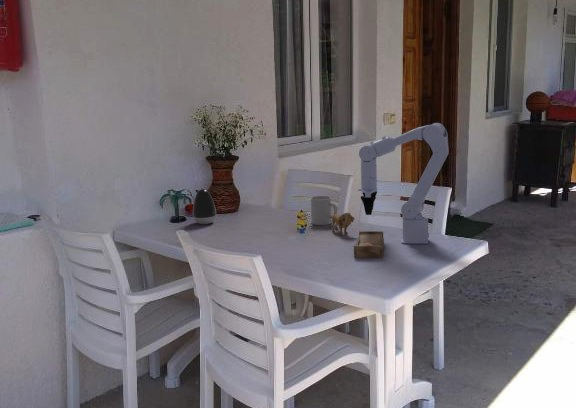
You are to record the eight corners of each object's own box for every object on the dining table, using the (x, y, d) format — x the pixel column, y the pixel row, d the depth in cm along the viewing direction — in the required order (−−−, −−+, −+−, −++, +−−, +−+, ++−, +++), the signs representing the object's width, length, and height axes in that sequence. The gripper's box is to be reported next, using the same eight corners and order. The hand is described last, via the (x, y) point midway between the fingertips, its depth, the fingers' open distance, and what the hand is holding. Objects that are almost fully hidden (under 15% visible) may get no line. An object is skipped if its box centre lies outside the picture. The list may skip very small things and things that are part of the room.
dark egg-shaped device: (207, 219, 268) (205, 186, 265) (221, 222, 260) (219, 188, 257) (188, 223, 261) (186, 189, 258) (202, 227, 254) (199, 192, 250)
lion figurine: (356, 234, 231) (356, 212, 229) (345, 237, 229) (345, 214, 227) (334, 227, 244) (333, 206, 242) (323, 230, 241) (323, 208, 239)
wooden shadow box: (384, 242, 219) (384, 231, 218) (382, 257, 201) (382, 245, 200) (358, 242, 221) (358, 231, 220) (354, 257, 203) (353, 245, 202)
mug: (307, 224, 252) (306, 198, 249) (318, 219, 258) (318, 195, 256) (331, 227, 245) (330, 201, 242) (342, 222, 251) (341, 197, 249)
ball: (374, 248, 207) (374, 240, 204) (373, 257, 204) (373, 249, 201) (362, 247, 208) (362, 240, 205) (361, 256, 205) (361, 248, 202)
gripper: (359, 173, 229) (360, 208, 232) (356, 180, 215) (357, 216, 218) (378, 173, 228) (378, 208, 231) (376, 180, 214) (376, 216, 217)
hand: (369, 212), depth 224 cm, fingers open, 7 cm apart
